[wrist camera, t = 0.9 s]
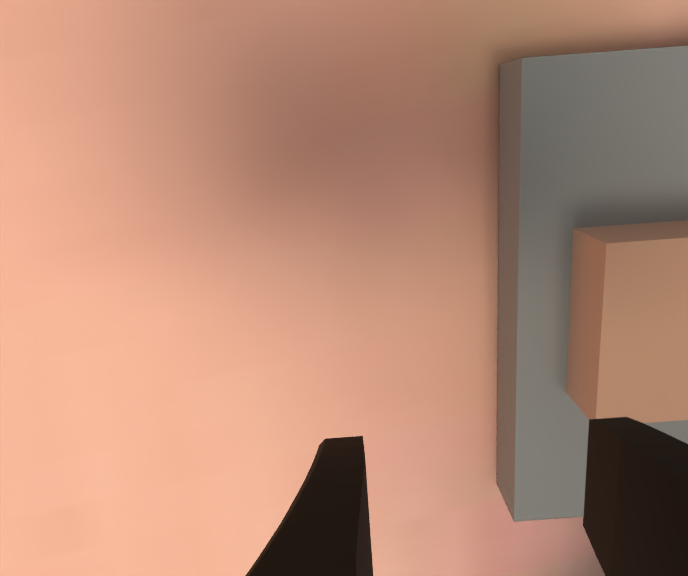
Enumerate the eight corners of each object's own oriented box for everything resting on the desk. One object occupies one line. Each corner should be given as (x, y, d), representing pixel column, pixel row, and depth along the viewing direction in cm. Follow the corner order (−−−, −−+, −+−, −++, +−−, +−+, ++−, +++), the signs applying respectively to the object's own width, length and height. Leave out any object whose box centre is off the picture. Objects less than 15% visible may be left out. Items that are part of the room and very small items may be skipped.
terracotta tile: (731, 380, 17) (782, 413, 15) (565, 392, 17) (595, 426, 15) (754, 214, 16) (812, 228, 14) (573, 228, 16) (606, 243, 14)
